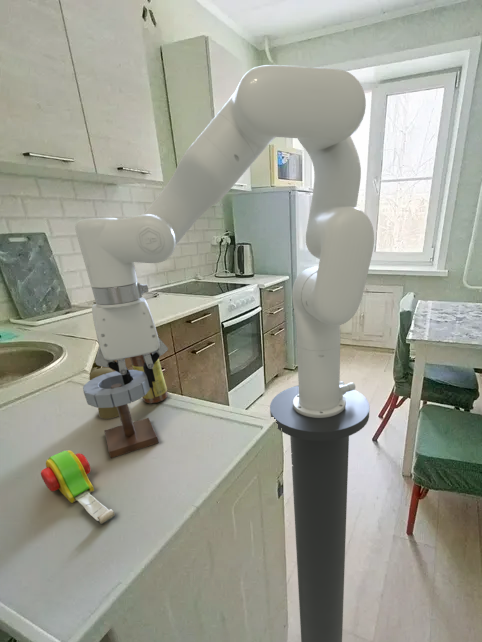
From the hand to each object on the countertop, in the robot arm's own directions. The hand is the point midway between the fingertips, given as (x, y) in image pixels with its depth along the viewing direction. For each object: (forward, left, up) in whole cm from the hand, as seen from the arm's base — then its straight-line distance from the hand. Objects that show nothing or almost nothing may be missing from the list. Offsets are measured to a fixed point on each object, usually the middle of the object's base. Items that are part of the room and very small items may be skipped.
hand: (141, 386), depth 70 cm
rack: (+4, 0, -11) cm, 12 cm away
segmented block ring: (+4, 0, 0) cm, 4 cm away
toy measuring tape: (+14, +13, -11) cm, 22 cm away
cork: (+6, -15, -11) cm, 20 cm away
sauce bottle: (-4, -16, -11) cm, 20 cm away
